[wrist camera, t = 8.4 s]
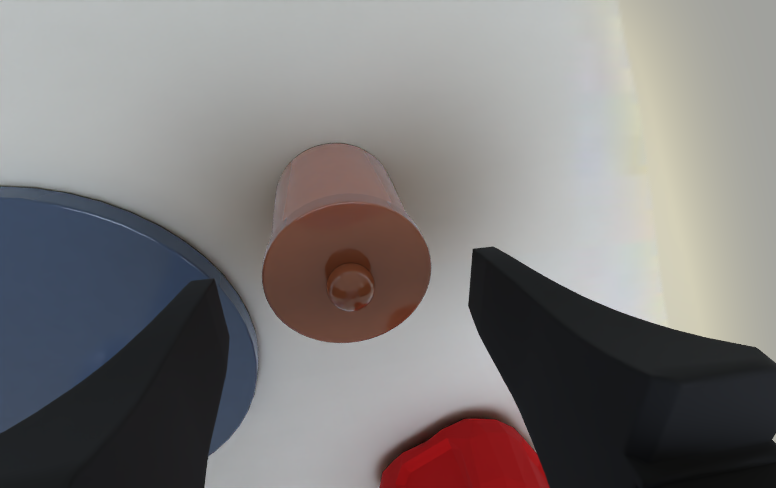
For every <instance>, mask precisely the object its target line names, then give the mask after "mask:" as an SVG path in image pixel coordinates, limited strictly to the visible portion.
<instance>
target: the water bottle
mask: <svg viewBox="0 0 776 488" xmlns="http://www.w3.org/2000/svg"><path fill="white" fill-rule="evenodd" d="M380 488H550V487H549V484H548V481H547V478H546V476H545V473H544V470H543V468H542V465H541V463H540V460H539V457H538V455H537V453H536V452H535V451H534V450H533V449H532V447H531V446H530V445H529V444H528V443H527V442H526V441H525V439H524V438H523V437H522V436H521V435H520V434H519V433H518V432H517V431H516V430H515V428H513V427H511V426H509V425H507V424H505V423H503V422H500V421H498V420H496V419H463V420H461V421H459V422H457V423H454V424H452V425H450V426H448V427H446V428H444V429H442V430H440V431H439V432H438V433H437V434H435V435H434V436H433V437H432V438H430V439H429V440H428V441H426V442H424V443H422V444H420V445H418V446H416V447H414V448H411V449H409V450H407V451H405V452H403V453H402V454H401V455H399V456H398V457H397V458H396V459H395V460H393V461H392V462H391V464H390V465H389V466H388V467H387V468H386V469H385V470H384V471H383V473H382V478H381V483H380Z"/></svg>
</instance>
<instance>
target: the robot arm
mask: <svg viewBox="0 0 776 488" xmlns="http://www.w3.org/2000/svg"><path fill="white" fill-rule="evenodd" d="M468 306H469V309H470V312H471V315H472V318H473V320H474V323H475V326H476V328H477V331H478V333H479V335H480V337H481V339H482V341H483V343H484V345H485V347H486V349H487V351H488V352H489V354H490V356H491V358H492V360H493V362H494V363H495V365H496V367H497V369H498V371H499V373H500V374H501V376H502V378H503V380H504V382H505V383H506V385H507V387H508V389H509V391H510V393H511V394H512V396H513V398H514V400H515V402H516V404H517V406H518V408H519V411H520V413H521V415H522V418H523V420H524V423H525V425H526V427H527V430H528V432H529V435H530V437H531V439H532V442H533V445H534V447H535V450H536V452H537V455H538V457H539V460H540V463H541V465H542V468H543V470H544V473H545V476H546V478H547V481H548V484H549V487H550V488H776V443H775V442H774V441H773V440H772V439H773V437H774V435H775V434H776V363H775V362H774V361H772V360H771V359H770V358H769V357H768V356H766V355H765V354H764V353H763V352H761V351H760V350H759V349H757V348H756V347H751V346H746V345H741V344H736V343H730V342H726V341H721V340H716V339H710V338H706V337H702V336H697V335H694V334H690V333H686V332H682V331H678V330H674V329H671V328H667V327H664V326H660V325H657V324H654V323H651V322H648V321H645V320H642V319H639V318H636V317H633V316H630V315H627V314H624V313H621V312H619V311H616V310H614V309H611V308H609V307H606V306H604V305H602V304H599V303H597V302H594V301H592V300H590V299H588V298H585V297H583V296H581V295H579V294H577V293H575V292H573V291H571V290H569V289H567V288H565V287H563V286H561V285H559V284H558V283H556V282H554V281H552V280H550V279H548V278H547V277H545V276H543V275H541V274H540V273H538V272H536V271H534V270H533V269H531V268H529V267H528V266H526V265H524V264H523V263H521V262H519V261H518V260H516V259H514V258H513V257H511V256H509V255H508V254H506V253H504V252H502V251H501V250H499V249H497V248H495V247H486V248H477V249H473V253H472V265H471V278H470V291H469V303H468ZM229 340H230V336H229V332H228V328H227V324H226V321H225V317H224V313H223V309H222V305H221V301H220V298H219V294H218V290H217V286H216V282H215V278H212V279H203V280H194V281H190V282H189V283H188V284H187V285H186V286H185V287H184V288H183V289H182V290H181V291H180V292H179V293H178V294H177V295H176V296H175V297H174V299H173V300H172V301H171V302H170V303H169V304H168V305H167V306H166V307H165V308H164V309H163V310H162V311H161V312H160V313H159V314H158V315H157V316H156V317H155V318H154V319H153V320H152V321H151V322H150V323H149V324H148V325H147V326H146V327H145V328H144V329H143V330H142V331H141V332H140V333H139V334H138V335H136V336H135V337H134V338H133V339H132V340H131V341H130V342H129V343H128V344H127V345H126V346H124V347H123V348H122V349H121V350H120V351H119V352H118V353H117V354H116V355H114V356H113V357H112V358H111V359H110V360H108V361H107V362H106V363H105V364H104V365H102V366H101V367H100V368H98V369H97V370H96V371H95V372H93V373H92V374H91V375H89V376H88V377H87V378H85V379H84V380H83V381H81V382H80V383H79V384H77V385H76V386H74V387H73V388H72V389H70V390H69V391H67V392H66V393H64V394H63V395H61V396H60V397H58V398H57V399H55V400H54V401H52V402H51V403H49V404H48V405H46V406H45V407H43V408H42V409H40V410H39V411H37V412H36V413H34V414H32V415H31V416H29V417H28V418H26V419H24V420H23V421H21V422H19V423H18V424H16V425H14V426H13V427H11V428H9V429H7V430H6V431H4V432H2V433H0V488H204V485H205V477H206V468H207V460H208V455H209V449H210V444H211V439H212V435H213V430H214V426H215V422H216V417H217V413H218V409H219V404H220V400H221V395H222V391H223V386H224V382H225V377H226V372H227V365H228V354H229Z"/></svg>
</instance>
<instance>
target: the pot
mask: <svg viewBox="0 0 776 488" xmlns="http://www.w3.org/2000/svg"><path fill="white" fill-rule="evenodd" d="M430 276H431V258H430V253H429V249H428V246H427V244H426V242H425V239H424V237H423V235H422V233H421V231H420V230H419V228H418V226H417V225H416V223H415V222H414V221H413V220H412V219H411V218H410V216H409V215H407V213H406V211H405V209H404V207H403V205H402V203H401V200H400V198H399V196H398V194H397V192H396V190H395V188H394V185H393V183H392V181H391V179H390V177H389V175H388V173H387V171H386V169H385V168H384V166H383V165H382V164H381V163H380V162H379V161H378V160H377V159H376V158H375V157H374V156H373V155H371V154H370V153H368V152H367V151H365V150H363V149H361V148H358V147H355V146H352V145H347V144H339V143H332V144H324V145H319V146H316V147H313V148H310V149H308V150H306V151H304V152H303V153H301V154H300V155H298V156H297V157H296V158H294V159H293V160H292V161H291V162H290V163H289V164H288V166H287V167H286V168H285V170H284V171H283V173H282V175H281V177H280V179H279V182H278V185H277V189H276V196H275V206H274V216H273V226H272V236H271V239H270V241H269V243H268V245H267V248H266V251H265V255H264V262H263V270H262V283H263V289H264V293H265V296H266V299H267V301H268V303H269V305H270V307H271V308H272V310H273V311H274V313H275V314H276V315H277V316H278V318H279V319H280V320H281V321H282V322H283V323H285V324H286V325H287V326H288V327H290V328H291V329H293V330H294V331H296V332H298V333H300V334H302V335H304V336H306V337H309V338H312V339H315V340H319V341H324V342H332V343H350V342H358V341H363V340H367V339H371V338H374V337H377V336H379V335H381V334H384V333H386V332H388V331H390V330H391V329H393V328H395V327H396V326H398V325H399V324H400V323H402V322H403V321H404V320H405V319H407V318H408V317H409V316H410V315H411V314H412V313H413V311H414V310H415V309H416V308H417V307H418V305H419V304H420V302H421V301H422V299H423V297H424V295H425V293H426V290H427V288H428V285H429V281H430Z"/></svg>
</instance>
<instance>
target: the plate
mask: <svg viewBox="0 0 776 488" xmlns="http://www.w3.org/2000/svg"><path fill="white" fill-rule="evenodd" d="M212 278H215V282H216V286H217V290H218V294H219V298H220V301H221V305H222V309H223V313H224V317H225V321H226V324H227V328H228V332H229V336H230V340H229V354H228V365H227V372H226V377H225V382H224V386H223V391H222V395H221V400H220V404H219V409H218V413H217V417H216V422H215V426H214V430H213V435H212V439H211V444H210V449H209V455H211V454H212V453H214V452H215V451H216V450H217V449H218V448H220V447H221V446H222V445H223V444H224V443H225V442H226V441H227V440H228V439H229V438H230V437H231V436H232V434H233V433H234V432H235V431H236V429H237V428H238V427H239V426H240V424H241V423H242V421H243V419H244V417H245V416H246V414H247V412H248V410H249V408H250V405H251V402H252V400H253V397H254V394H255V388H256V382H257V375H258V344H257V339H256V333H255V329H254V327H253V324H252V321H251V319H250V316H249V313H248V311H247V309H246V308H245V306H244V304H243V302H242V301H241V299H240V297H239V295H238V294H237V292H236V291H235V290H234V288H233V287H232V286H231V284H230V283H229V282H228V281H227V279H226V278H225V277H224V275H223V274H222V273H221V272H220V271H219V270H218V269H217V268H216V267H215V266H214V265H212V264H211V263H210V262H209V261H208V260H207V259H206V258H205V257H204V256H203V255H201V254H200V253H199V252H198V251H196V250H195V249H194V248H192V247H191V246H190V245H189V244H187V243H186V242H185V241H183V240H182V239H180V238H178V237H177V236H175V235H173V234H172V233H170V232H169V231H167V230H165V229H164V228H162V227H160V226H159V225H157V224H154V223H152V222H150V221H148V220H146V219H144V218H142V217H140V216H138V215H136V214H133V213H131V212H129V211H126V210H123V209H120V208H117V207H115V206H112V205H109V204H106V203H104V202H101V201H97V200H93V199H89V198H85V197H81V196H77V195H73V194H69V193H63V192H57V191H50V190H43V189H37V188H22V187H1V186H0V433H2V432H4V431H6V430H7V429H9V428H11V427H13V426H14V425H16V424H18V423H19V422H21V421H23V420H24V419H26V418H28V417H29V416H31V415H32V414H34V413H36V412H37V411H39V410H40V409H42V408H43V407H45V406H46V405H48V404H49V403H51V402H52V401H54V400H55V399H57V398H58V397H60V396H61V395H63V394H64V393H66V392H67V391H69V390H70V389H72V388H73V387H74V386H76V385H77V384H79V383H80V382H81V381H83V380H84V379H85V378H87V377H88V376H89V375H91V374H92V373H93V372H95V371H96V370H97V369H98V368H100V367H101V366H102V365H104V364H105V363H106V362H107V361H108V360H110V359H111V358H112V357H113V356H114V355H116V354H117V353H118V352H119V351H120V350H121V349H122V348H123V347H124V346H126V345H127V344H128V343H129V342H130V341H131V340H132V339H133V338H134V337H135V336H136V335H138V334H139V333H140V332H141V331H142V330H143V329H144V328H145V327H146V326H147V325H148V324H149V323H150V322H151V321H152V320H153V319H154V318H155V317H156V316H157V315H158V314H159V313H160V312H161V311H162V310H163V309H164V308H165V307H166V306H167V305H168V304H169V303H170V302H171V301H172V300H173V299H174V297H175V296H176V295H177V294H178V293H179V292H180V291H181V290H182V289H183V288H184V287H185V286H186V285H187V284H188V283H189V282H190V281H194V280H203V279H212ZM209 455H208V456H209Z"/></svg>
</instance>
